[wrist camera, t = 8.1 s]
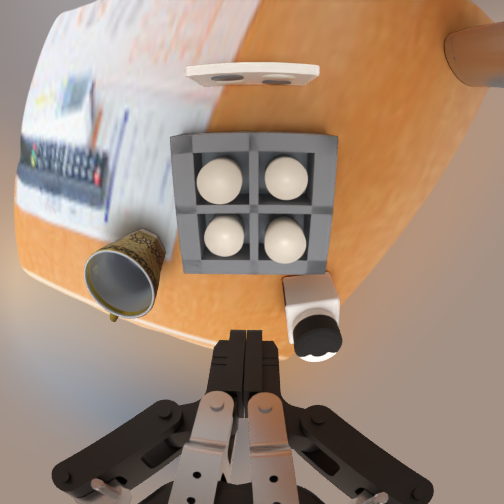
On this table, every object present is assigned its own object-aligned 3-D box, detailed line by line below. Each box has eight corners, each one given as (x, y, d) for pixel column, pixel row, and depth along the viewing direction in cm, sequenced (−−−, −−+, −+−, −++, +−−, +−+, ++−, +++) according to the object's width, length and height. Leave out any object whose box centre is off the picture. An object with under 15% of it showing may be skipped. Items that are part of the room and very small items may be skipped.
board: (327, 133, 31) (338, 136, 27) (317, 255, 39) (324, 274, 34) (182, 134, 31) (170, 137, 27) (192, 255, 39) (183, 273, 35)
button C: (242, 156, 29) (241, 160, 26) (243, 196, 31) (241, 204, 28) (201, 157, 29) (195, 161, 26) (203, 196, 31) (198, 204, 28)
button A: (304, 155, 30) (308, 159, 28) (302, 193, 32) (306, 200, 30) (264, 154, 30) (265, 158, 28) (264, 192, 32) (264, 199, 30)
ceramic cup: (124, 207, 36) (88, 236, 27) (185, 235, 38) (164, 273, 29) (108, 275, 41) (80, 312, 33) (160, 300, 43) (141, 343, 34)
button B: (303, 216, 32) (307, 226, 29) (301, 251, 34) (304, 263, 31) (264, 216, 32) (264, 225, 29) (264, 251, 34) (264, 263, 32)
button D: (244, 211, 34) (243, 220, 31) (245, 245, 36) (243, 256, 33) (207, 211, 34) (202, 220, 31) (209, 245, 36) (205, 256, 33)
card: (303, 78, 28) (319, 65, 20) (304, 87, 28) (319, 76, 20) (204, 79, 28) (185, 66, 20) (204, 87, 29) (185, 77, 21)
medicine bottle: (281, 276, 41) (288, 333, 30) (328, 270, 40) (349, 324, 29) (286, 313, 44) (292, 371, 33) (329, 307, 43) (345, 363, 32)
